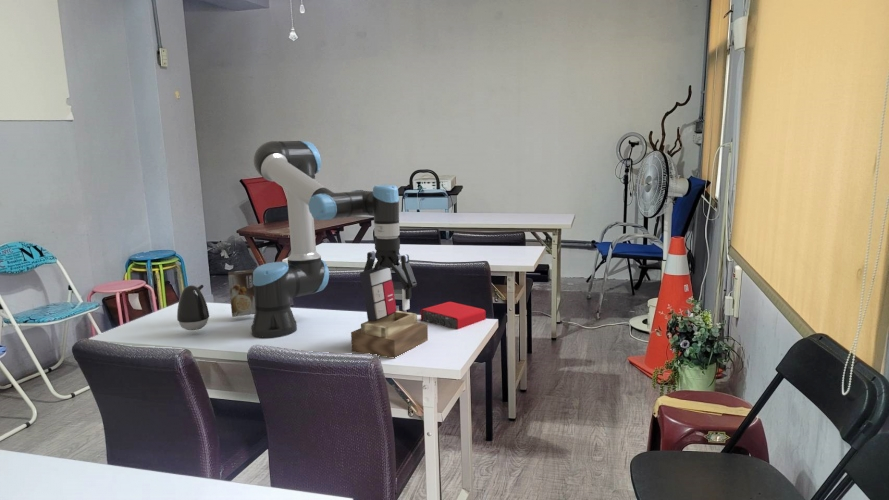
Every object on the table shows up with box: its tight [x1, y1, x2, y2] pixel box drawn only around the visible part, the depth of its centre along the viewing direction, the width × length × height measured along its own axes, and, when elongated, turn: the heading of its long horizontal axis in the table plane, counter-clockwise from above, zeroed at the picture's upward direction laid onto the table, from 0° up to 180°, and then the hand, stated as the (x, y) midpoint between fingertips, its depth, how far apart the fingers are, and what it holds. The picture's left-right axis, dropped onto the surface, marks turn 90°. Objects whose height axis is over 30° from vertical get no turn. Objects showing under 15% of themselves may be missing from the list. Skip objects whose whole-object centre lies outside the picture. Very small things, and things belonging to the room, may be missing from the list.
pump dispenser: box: [176, 284, 210, 331], centre depth 205 cm, size 10×10×15 cm
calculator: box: [359, 267, 397, 321], centre depth 183 cm, size 11×4×15 cm, turn 150°
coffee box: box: [227, 269, 255, 318], centre depth 222 cm, size 9×6×16 cm
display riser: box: [350, 310, 429, 359], centre depth 183 cm, size 16×18×9 cm
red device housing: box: [420, 301, 487, 330], centre depth 209 cm, size 18×14×5 cm
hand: (389, 306), depth 182 cm, fingers open, 12 cm apart
